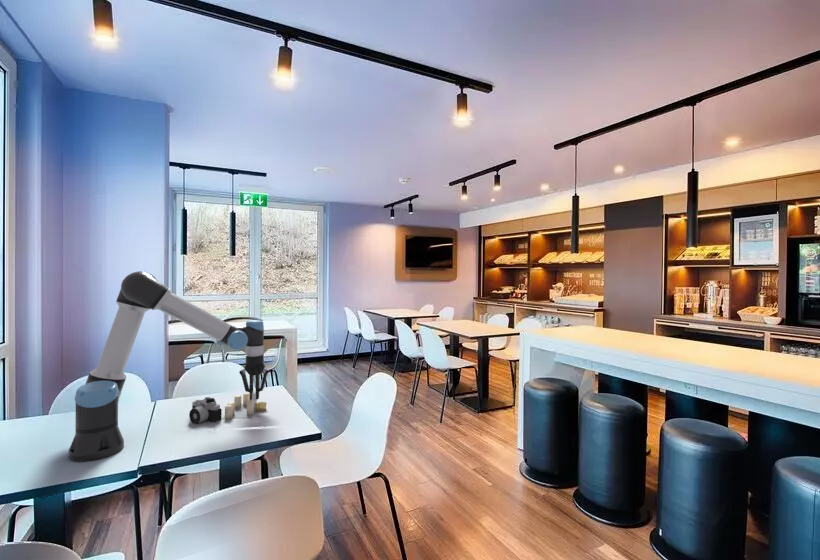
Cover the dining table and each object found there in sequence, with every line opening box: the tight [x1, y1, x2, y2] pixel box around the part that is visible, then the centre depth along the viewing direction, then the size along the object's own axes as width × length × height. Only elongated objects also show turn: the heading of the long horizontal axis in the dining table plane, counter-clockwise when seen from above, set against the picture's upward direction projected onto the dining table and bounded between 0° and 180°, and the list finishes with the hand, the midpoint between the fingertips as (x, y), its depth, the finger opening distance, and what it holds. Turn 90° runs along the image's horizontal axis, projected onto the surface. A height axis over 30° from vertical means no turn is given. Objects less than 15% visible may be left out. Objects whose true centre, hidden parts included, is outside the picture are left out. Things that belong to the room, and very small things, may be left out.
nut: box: [255, 401, 267, 412], centre depth 180 cm, size 4×4×3 cm
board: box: [221, 392, 257, 420], centre depth 179 cm, size 20×12×6 cm, turn 10°
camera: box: [188, 396, 223, 425], centre depth 167 cm, size 16×9×10 cm, turn 65°
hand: (254, 406), depth 180 cm, fingers closed
